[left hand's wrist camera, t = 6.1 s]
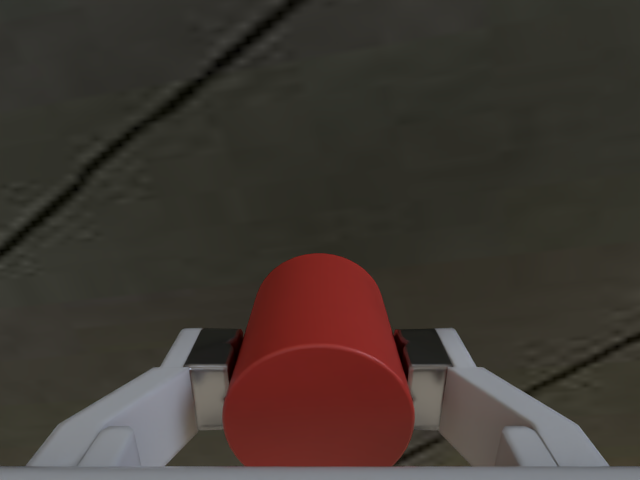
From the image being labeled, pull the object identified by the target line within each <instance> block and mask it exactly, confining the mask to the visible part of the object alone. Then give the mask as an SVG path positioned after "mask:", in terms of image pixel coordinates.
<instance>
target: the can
mask: <svg viewBox="0 0 640 480" xmlns="http://www.w3.org/2000/svg"><path fill="white" fill-rule="evenodd" d="M222 421H223V429H224V432H225V436H226V439H227V442H228V444H229V446H230V448H231V450H232V451H233V453H234V454H235V456H236V457H237V458H238V459H239V460H240V462H241V463H242V464H243V465H244V466H319V467H377V466H393V465H394V464H395V463H396V462H397V461H398V459H399V458H400V457H401V456H402V454H403V453H404V451H405V450H406V448H407V446H408V444H409V442H410V440H411V436H412V433H413V429H414V422H415V411H414V405H413V400H412V397H411V393H410V390H409V387H408V383H407V380H406V377H405V373H404V370H403V366H402V363H401V360H400V356H399V353H398V350H397V346H396V343H395V340H394V336H393V333H392V329H391V326H390V323H389V319H388V316H387V313H386V309H385V306H384V302H383V299H382V296H381V293H380V290H379V288H378V286H377V284H376V283H375V281H374V280H373V278H372V277H371V276H370V275H369V274H368V273H367V272H366V271H365V270H364V269H363V268H362V267H360V266H359V265H358V264H356V263H354V262H352V261H350V260H348V259H346V258H343V257H340V256H336V255H332V254H324V253H314V254H306V255H302V256H298V257H295V258H292V259H290V260H288V261H286V262H284V263H282V264H281V265H279V266H278V267H276V268H275V269H274V270H273V271H272V272H271V273H270V274H269V275H268V276H267V277H266V278H265V280H264V281H263V283H262V284H261V286H260V288H259V290H258V293H257V296H256V299H255V302H254V306H253V309H252V312H251V315H250V319H249V322H248V325H247V328H246V332H245V335H244V338H243V341H242V345H241V348H240V351H239V355H238V358H237V361H236V364H235V368H234V371H233V374H232V377H231V381H230V384H229V387H228V390H227V394H226V397H225V401H224V405H223V413H222Z"/></svg>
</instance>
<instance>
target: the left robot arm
mask: <svg viewBox="0 0 640 480" xmlns="http://www.w3.org/2000/svg"><path fill="white" fill-rule="evenodd" d="M394 340H395V343H396V346H397V350H398V353H399V356H400V360H401V363H402V366H403V370H404V373H405V377H406V380H407V383H408V387H409V390H410V393H411V397H412V400H413V405H414V411H415V422H414V430H439V433H440V434H441V435H442V436H443V437H444V438H445V439H446V440H447V441H448V442H449V443H450V444H451V445H452V446H453V447H454V448H455V449H456V450H457V451H458V452H459V453H460V454H461V455H462V456H463V457H464V458H465V459H466V460H467V462H468V463H469V464H470V465H471V466H377V467H319V466H165V465H166V464H167V463H168V462H169V461H170V460H171V459H172V458H173V457H174V456H175V455H176V454H177V453H178V452H179V451H180V450H181V449H182V448H183V447H184V446H185V445H186V444H187V443H188V442H189V441H190V440H191V439H192V438H193V437H194V436H195V435H196V434H197V433H198V430H221V429H223V421H222V413H223V405H224V401H225V397H226V394H227V390H228V387H229V384H230V381H231V377H232V374H233V371H234V368H235V364H236V361H237V358H238V355H239V351H240V348H241V345H242V341H243V332H242V330H241V329H219V328H204V329H203V328H184V329H182V330H181V331H180V333H179V335H178V336H177V338H176V340H175V341H174V343H173V345H172V347H171V348H170V350H169V352H168V353H167V355H166V357H165V359H164V360H163V362H162V364H161V366H160V367H153V368H152V369H150V370H148V371H147V372H145V373H143V374H142V375H140V376H138V377H137V378H135V379H133V380H132V381H130V382H128V383H127V384H125V385H123V386H121V387H120V388H118V389H116V390H115V391H113V392H111V393H110V394H108V395H106V396H105V397H103V398H101V399H100V400H98V401H96V402H95V403H93V404H91V405H90V406H88V407H86V408H85V409H83V410H81V411H80V412H78V413H76V414H75V415H73V416H71V417H69V418H68V419H66V420H64V421H63V422H61V423H59V424H58V425H57V426H56V428H55V429H54V430H53V431H52V433H51V434H50V435H49V437H48V438H47V439H46V440H45V442H44V443H43V444H42V446H41V447H40V448H39V449H38V451H37V452H36V453H35V454H34V456H33V457H32V458H31V460H30V461H29V462H28V463H27V465H26V466H0V480H640V466H609V465H608V463H607V462H606V461H605V459H604V458H603V457H602V455H601V454H600V453H599V452H598V450H597V449H596V448H595V446H594V445H593V444H592V442H591V441H590V440H589V438H588V437H587V436H586V435H585V433H584V432H583V431H582V429H581V428H580V427H579V425H577V424H576V423H574V422H573V421H571V420H569V419H568V418H566V417H564V416H563V415H561V414H559V413H558V412H556V411H554V410H553V409H551V408H549V407H548V406H546V405H544V404H543V403H541V402H539V401H538V400H536V399H534V398H533V397H531V396H529V395H528V394H526V393H524V392H523V391H521V390H519V389H518V388H516V387H515V386H513V385H511V384H510V383H508V382H506V381H505V380H503V379H501V378H500V377H498V376H496V375H495V374H493V373H491V372H490V371H488V370H486V369H485V368H483V367H476V365H475V363H474V361H473V360H472V358H471V356H470V354H469V353H468V351H467V349H466V347H465V346H464V344H463V342H462V340H461V339H460V337H459V335H458V333H457V332H456V330H455V329H453V328H433V329H398V330H395V332H394Z"/></svg>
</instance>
